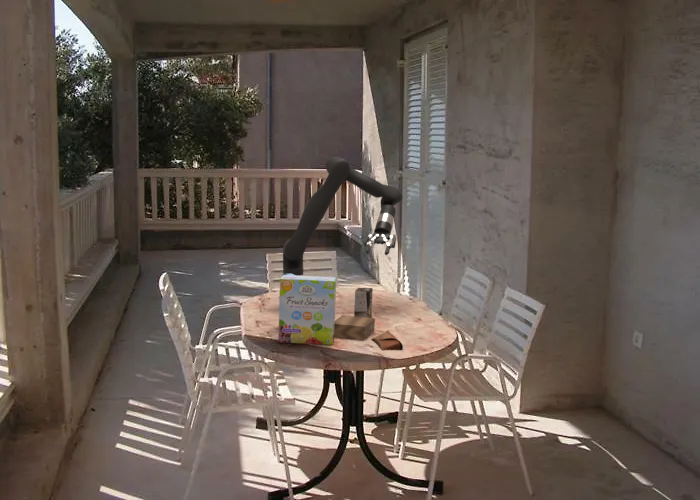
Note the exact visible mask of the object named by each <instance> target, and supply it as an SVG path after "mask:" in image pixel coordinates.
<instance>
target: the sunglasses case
mask: <svg viewBox="0 0 700 500" xmlns="http://www.w3.org/2000/svg"><path fill="white" fill-rule="evenodd" d="M370 340H371V341H373V342H374V343H375V344H376V345H378V347H379V348H380V350H381V351H403V348H404V346H403V344H402V342H401V341H400V340H399V339H398V338H397V337H396V336H395V335H394V334H393V333H391V332H390V331H389V330H386V331H384V332H383V333H380V334H379V335H376V336H375V337H372V338H371V339H370Z"/></svg>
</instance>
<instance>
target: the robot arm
mask: <svg viewBox="0 0 700 500" xmlns="http://www.w3.org/2000/svg"><path fill="white" fill-rule="evenodd" d="M325 170H326V173H328V175H327V178H326V179H325V181H324V182H323V184H322V185H321V186H320V187H319V188H318V189H317V191H315V193H314V194H313V195H312V196H311V197H310V199H309V200H308V202H307V203H306V205H305V207H304V209H303V212H302V214H301V217H300V220H299V223H298V226H297V228H296V230H295V232H294V233H293V235H292V236H291V238H289V239H287V240H286V241H285V242H284V243H283V246H282V270H283V271H282V274H294V275H296V276H304V254H305V252H306V249H307V246H308V244H309V242H310V240H311V237H312V235H313V234H314V232H316V229H317V228H318V226H319V225H320V223H321V221H323V218H324V217H325V216H326V215H325V214H326V213H327V211H328V209H329V207H330V205H331V203H332V202H333V201H334V198H335V196H336V194H337V192H338V190H339V189H340V187H341V186H342V184H343V183H344V182H345V181H347V182H349V183H350V184H352V185H354V186H355V187H357V188H359V189H360V190H361V191H363V192H365V193H367V194H368V195H370V196H372V197H374V198H376V199H377V198H380V211H379V215H378V217H377V219H376V220H377V221H376V224H375V226H374V230H373V234H370V232H367V233H366V235H365V236H364V240H363V245H364V247H365V253H366V254H367V255H369V254H370V251H371V247H373V246H375V245H385V250H384V255H385V256H388V255H389V254H390V250H391V249H395V248H396V243H397V236H396V234H392V235H391V233H392V230H393V227H394V222H395V221H394V220H395V216H396V208H395V207H394V206H396V205H397V204H399V203H401V201H402V200H403V193H402V191H401V190H400V189H398V187H395V186H391V185H389V184H383V183H382V182H380V181H378V180H376V179H374V178H373V177H371V176H368V175H367V174H364V173H362V172H359V171H358V170H356V169H354V168H353V167H352V166H350V162H349V161H348V160H346V159H345V158H342V157H340V156H332V157H330V158H328V160H327V161H326V163H325ZM390 240H391V243H390V242H389V241H390Z"/></svg>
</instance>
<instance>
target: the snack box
mask: <svg viewBox="0 0 700 500" xmlns="http://www.w3.org/2000/svg"><path fill="white" fill-rule="evenodd" d="M336 290H337V277H332V276H331V277H330V276H316V275H303V276H296V275H283V276H282V275H281V277H280V278H279V293H278V294H279V295H278V297H279V298H278V299H279V300H278V301H279V302H278V304H279V305H278V336H277V337H278V341H277V342H278V343H283V344H284V343H287V344H288V343H289V344H307V345H324V346H325V345H326V346H329V345H330V346H333V345H334V340H335V338H334V324H335V320H336V319H335V317H336V295H337V294H336V292H337V291H336Z"/></svg>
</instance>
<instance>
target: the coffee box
mask: <svg viewBox="0 0 700 500" xmlns="http://www.w3.org/2000/svg"><path fill="white" fill-rule="evenodd" d="M353 313H354V314H353V316H356V317H367V318H373V314H372V313H373V287H358V288H357V289H355V291H354V308H353Z"/></svg>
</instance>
